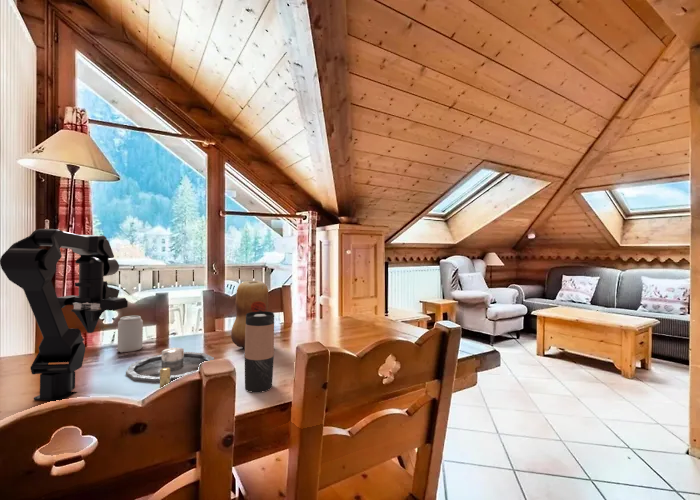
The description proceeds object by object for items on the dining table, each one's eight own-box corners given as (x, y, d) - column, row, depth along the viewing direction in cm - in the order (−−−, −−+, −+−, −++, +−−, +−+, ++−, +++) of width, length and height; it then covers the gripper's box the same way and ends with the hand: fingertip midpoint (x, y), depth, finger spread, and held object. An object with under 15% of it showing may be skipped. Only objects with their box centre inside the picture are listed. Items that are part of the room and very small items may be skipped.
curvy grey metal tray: (212, 385, 95) (212, 366, 95) (111, 395, 87) (112, 375, 87) (214, 354, 121) (214, 339, 121) (137, 360, 113) (138, 344, 113)
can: (130, 354, 119) (131, 319, 119) (111, 353, 120) (112, 318, 120) (147, 348, 126) (148, 315, 126) (129, 346, 128) (130, 314, 128)
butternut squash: (239, 356, 120) (241, 283, 120) (225, 346, 131) (227, 280, 130) (276, 349, 129) (277, 281, 129) (260, 341, 140) (261, 278, 139)
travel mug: (275, 382, 99) (277, 311, 98) (270, 393, 91) (271, 317, 91) (248, 381, 99) (249, 310, 98) (240, 393, 91) (242, 316, 91)
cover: (182, 369, 104) (182, 352, 104) (159, 371, 102) (160, 354, 102) (184, 362, 110) (184, 347, 110) (163, 364, 108) (163, 348, 108)
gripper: (141, 277, 108) (140, 327, 108) (85, 275, 110) (84, 324, 110) (113, 280, 97) (112, 337, 97) (51, 278, 99) (50, 333, 99)
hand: (90, 332), depth 101 cm, fingers closed
